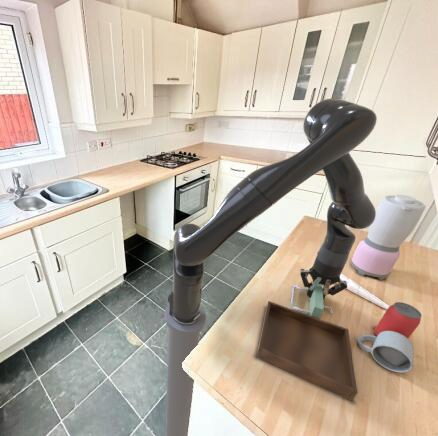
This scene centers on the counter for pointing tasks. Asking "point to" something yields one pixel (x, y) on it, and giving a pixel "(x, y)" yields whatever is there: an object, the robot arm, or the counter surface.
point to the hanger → (313, 301)
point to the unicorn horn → (362, 292)
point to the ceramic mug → (390, 350)
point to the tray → (308, 349)
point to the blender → (387, 235)
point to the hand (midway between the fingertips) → (314, 297)
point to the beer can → (399, 319)
